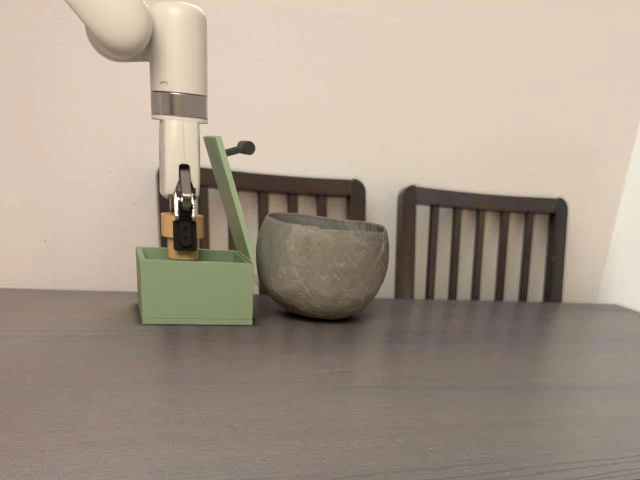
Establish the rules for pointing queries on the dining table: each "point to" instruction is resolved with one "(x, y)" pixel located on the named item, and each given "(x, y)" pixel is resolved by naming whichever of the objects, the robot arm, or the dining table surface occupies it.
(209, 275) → the green open box
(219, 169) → the lid
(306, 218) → the bowl
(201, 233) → the wooden stepped cylinder
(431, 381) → the dining table surface
